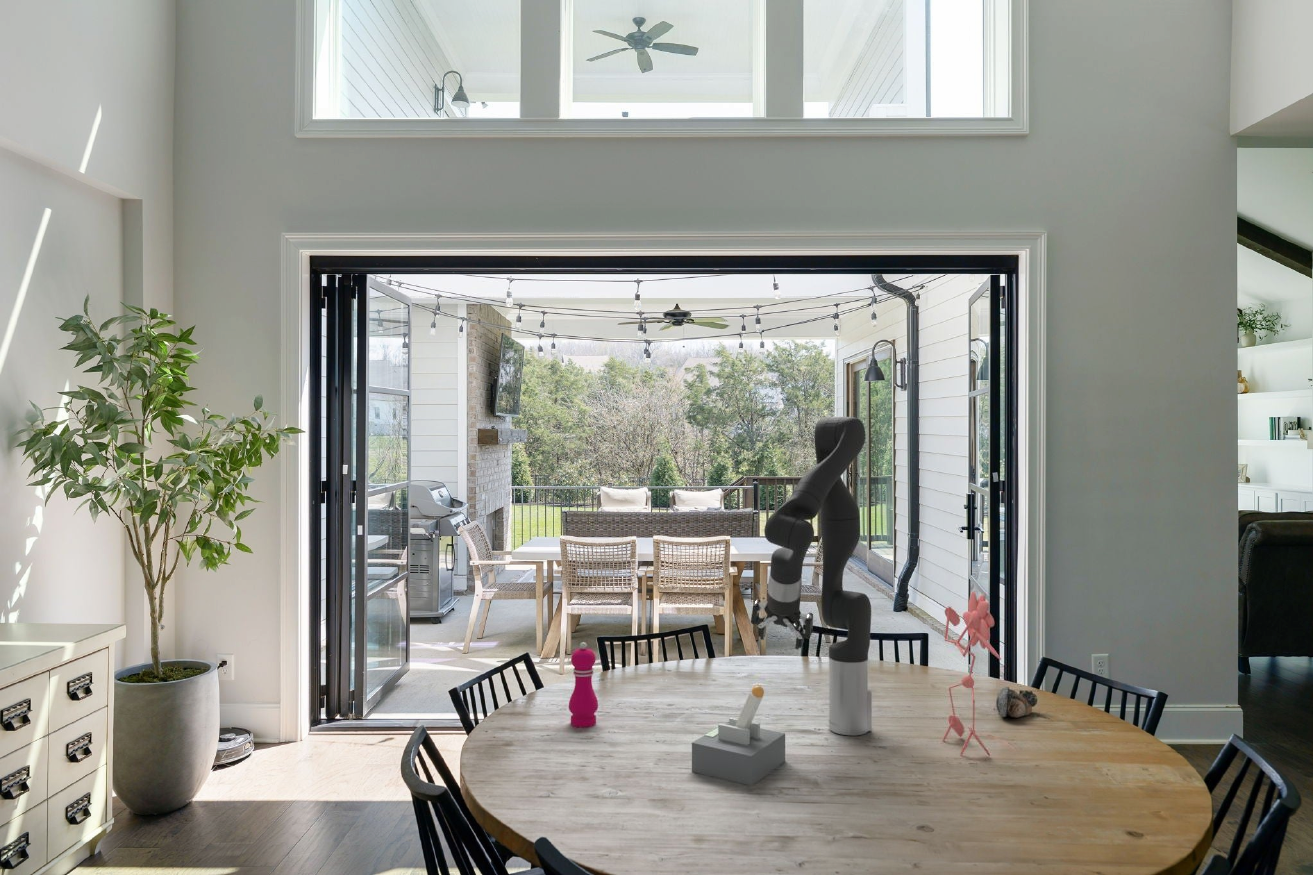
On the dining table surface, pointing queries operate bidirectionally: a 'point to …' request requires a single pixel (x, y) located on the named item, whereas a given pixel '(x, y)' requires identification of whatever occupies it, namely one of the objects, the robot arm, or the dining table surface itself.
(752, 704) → the lever
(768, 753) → the box
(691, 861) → the dining table surface
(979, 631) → the pink flower figurine
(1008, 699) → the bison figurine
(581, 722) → the pepper mill
